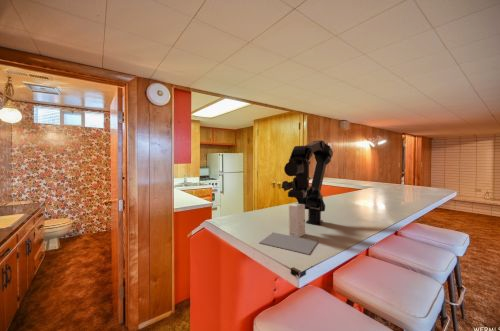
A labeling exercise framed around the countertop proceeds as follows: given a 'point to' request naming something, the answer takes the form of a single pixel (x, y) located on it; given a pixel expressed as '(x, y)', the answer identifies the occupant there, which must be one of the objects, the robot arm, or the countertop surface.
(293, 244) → the mat
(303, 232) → the skincare box
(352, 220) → the countertop surface
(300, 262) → the countertop surface
